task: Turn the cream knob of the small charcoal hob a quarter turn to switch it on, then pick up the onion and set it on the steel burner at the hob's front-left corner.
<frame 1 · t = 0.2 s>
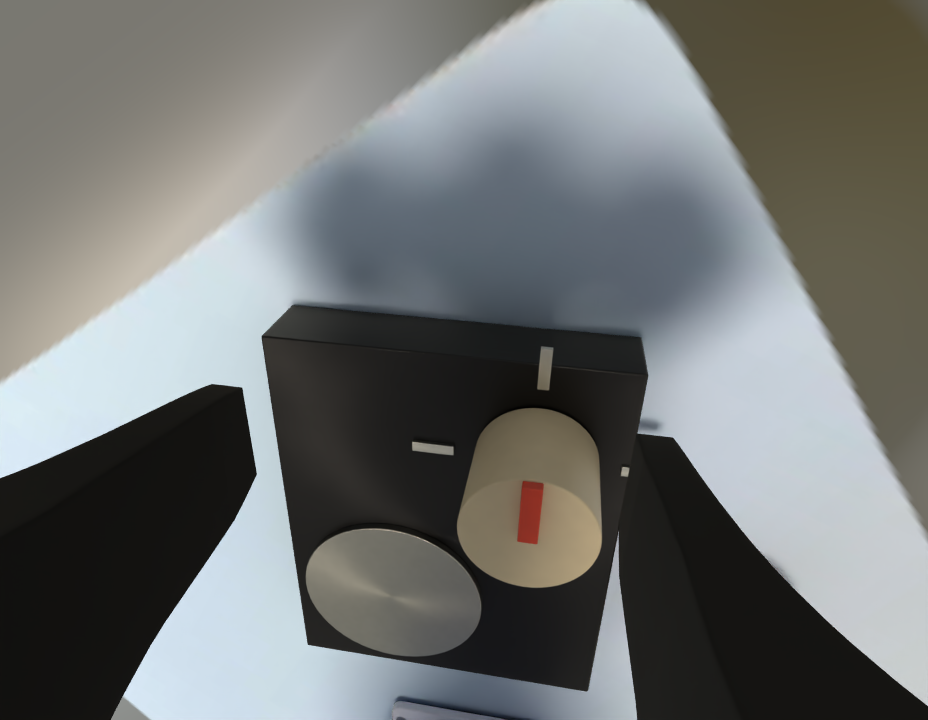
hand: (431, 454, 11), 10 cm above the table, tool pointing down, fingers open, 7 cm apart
hob: (456, 491, 25), on the table
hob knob: (532, 498, 19), point 4 cm above the table, hinge at 0.0°
burner: (393, 590, 25), resting on hob
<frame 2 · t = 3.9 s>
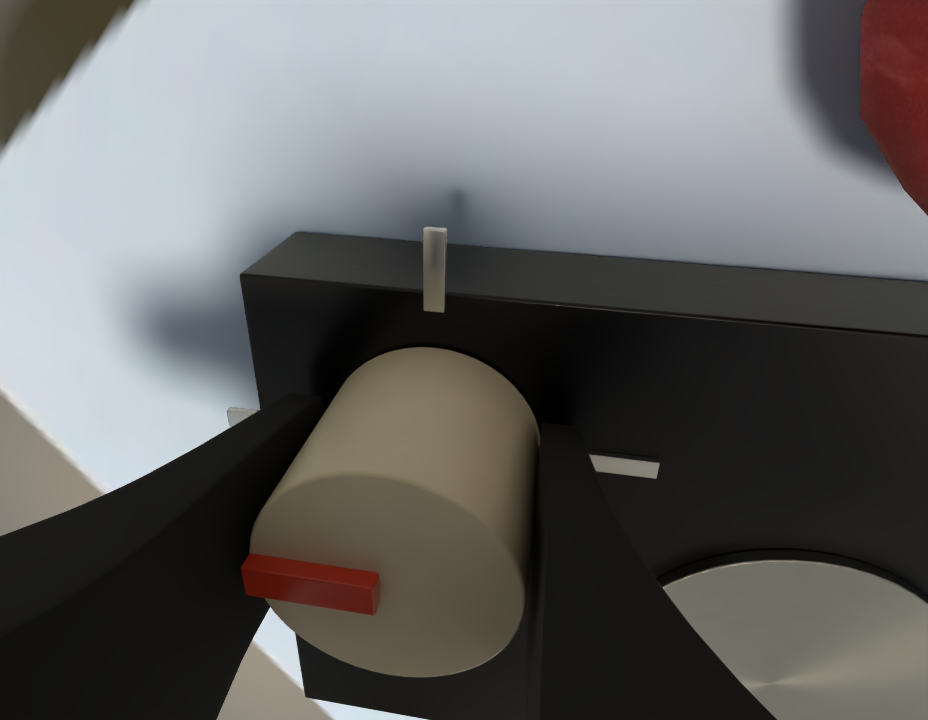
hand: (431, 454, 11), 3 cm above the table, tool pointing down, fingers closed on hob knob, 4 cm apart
hob: (620, 499, 15), on the table
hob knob: (410, 508, 10), point 4 cm above the table, hinge at -0.1°, touching gripper
burner: (767, 670, 13), resting on hob
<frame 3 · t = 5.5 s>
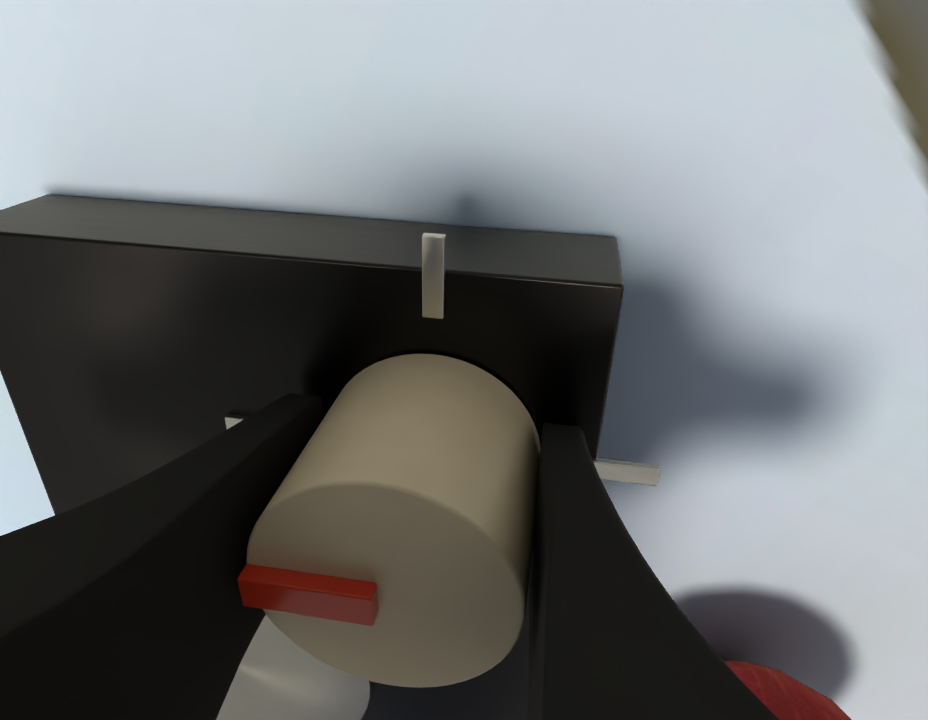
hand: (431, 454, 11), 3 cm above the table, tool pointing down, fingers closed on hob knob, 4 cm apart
onion: (724, 659, 17), on the table
hob: (339, 499, 16), on the table
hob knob: (409, 516, 10), point 4 cm above the table, hinge at 90.6°, touching gripper
burner: (240, 653, 16), resting on hob
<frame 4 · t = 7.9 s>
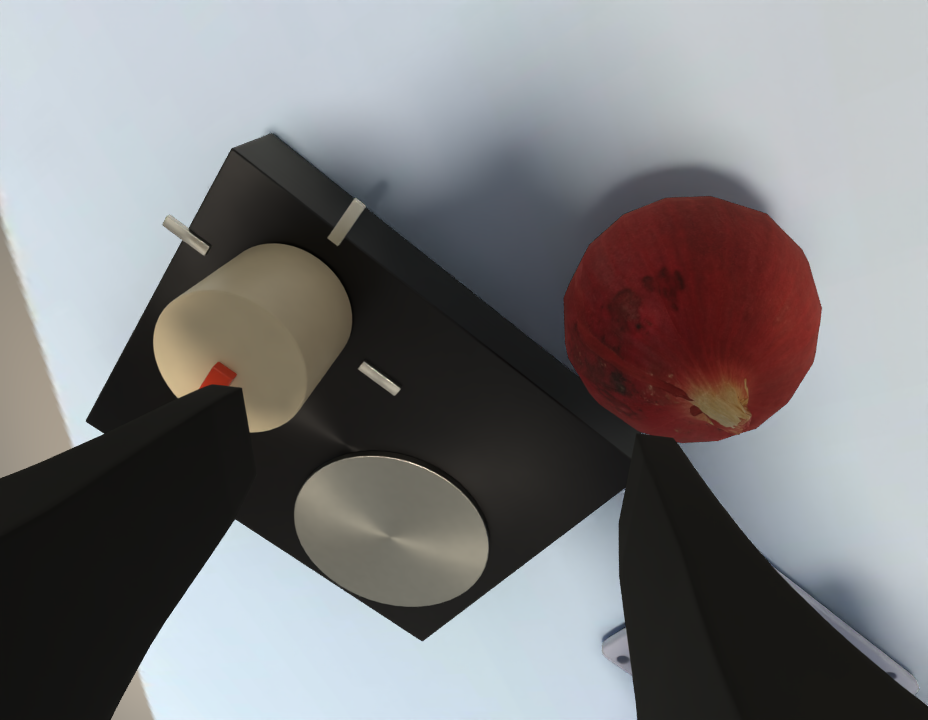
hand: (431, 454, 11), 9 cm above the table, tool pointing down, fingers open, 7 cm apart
onion: (665, 264, 19), on the table
hob: (368, 404, 23), on the table
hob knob: (258, 337, 17), point 4 cm above the table, hinge at 90.6°
burner: (391, 530, 22), resting on hob
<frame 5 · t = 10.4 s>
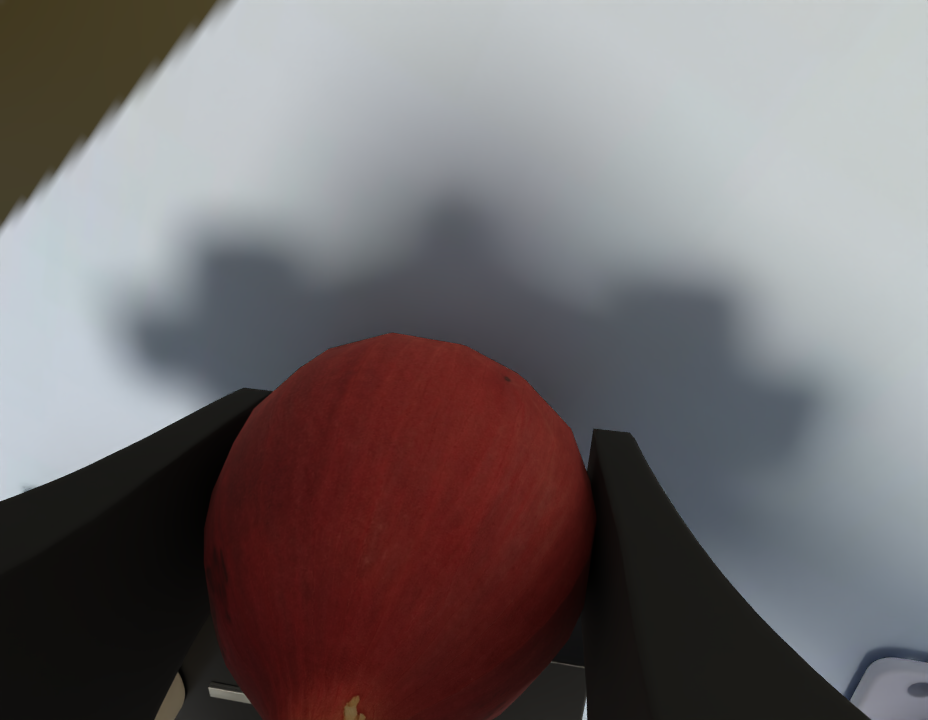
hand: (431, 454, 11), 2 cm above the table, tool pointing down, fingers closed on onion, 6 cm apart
onion: (450, 391, 13), on the table, touching gripper
hob: (312, 678, 19), on the table
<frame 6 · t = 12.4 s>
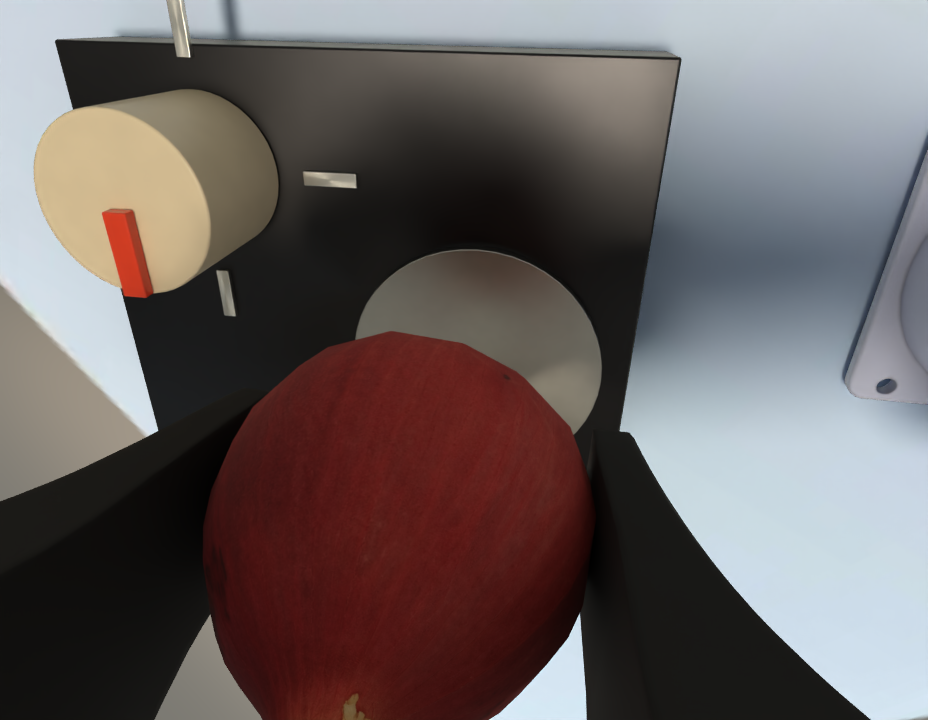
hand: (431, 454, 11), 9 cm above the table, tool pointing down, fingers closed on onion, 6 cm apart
onion: (449, 390, 13), point 7 cm above the table, touching gripper
hob: (386, 259, 20), on the table
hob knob: (164, 189, 15), point 4 cm above the table, hinge at 90.6°
burner: (476, 364, 18), resting on hob
when the fingers open (5 cm above the table, at t = 14.4 s): onion stays where it is, resting on burner.
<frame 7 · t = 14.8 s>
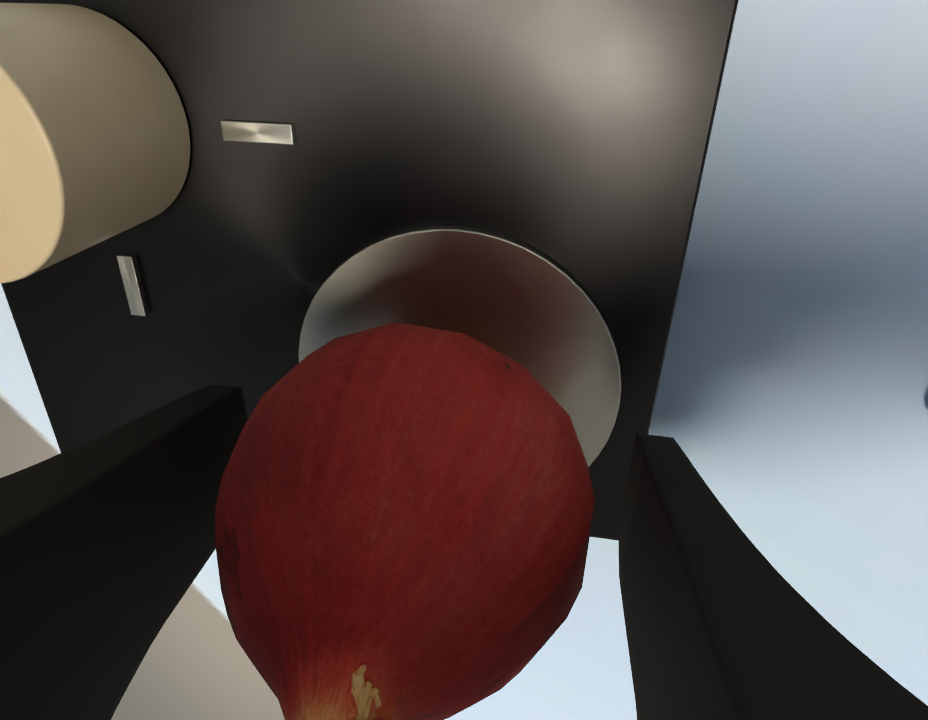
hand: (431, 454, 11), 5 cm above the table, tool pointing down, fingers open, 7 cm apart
onion: (452, 383, 14), point 3 cm above the table, touching burner
hob: (345, 245, 15), on the table
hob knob: (18, 138, 11), point 4 cm above the table, hinge at 90.6°
burner: (456, 381, 14), resting on hob
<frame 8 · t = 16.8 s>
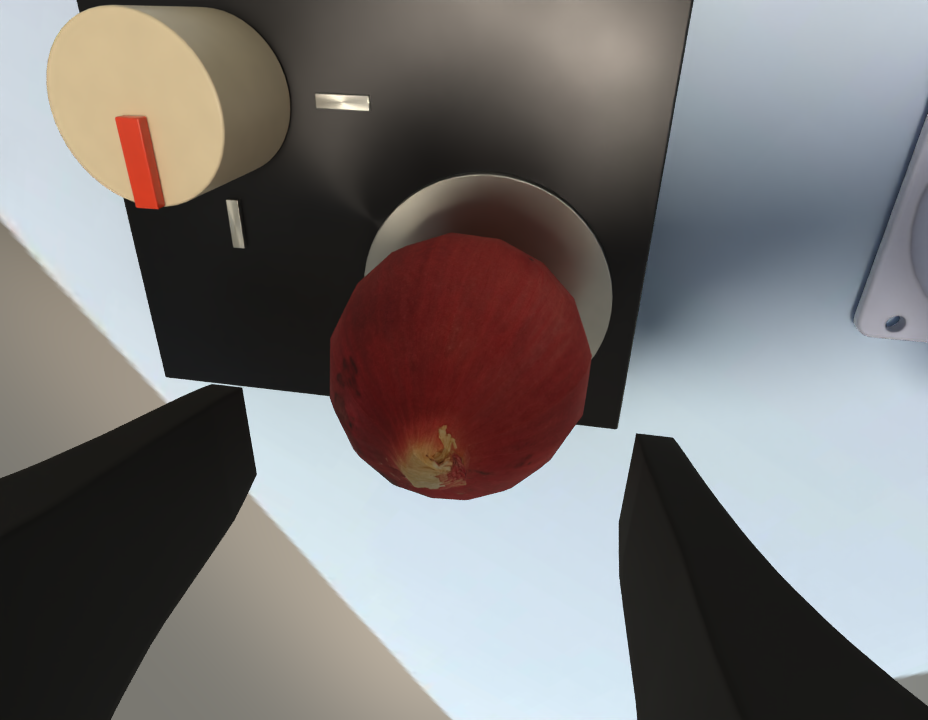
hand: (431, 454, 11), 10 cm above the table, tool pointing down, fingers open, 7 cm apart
onion: (482, 298, 18), point 3 cm above the table, touching burner
hob: (395, 196, 19), on the table
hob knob: (176, 104, 15), point 4 cm above the table, hinge at 90.6°
burner: (485, 297, 18), resting on hob
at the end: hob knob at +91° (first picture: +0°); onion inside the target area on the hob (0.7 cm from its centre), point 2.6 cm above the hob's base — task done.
